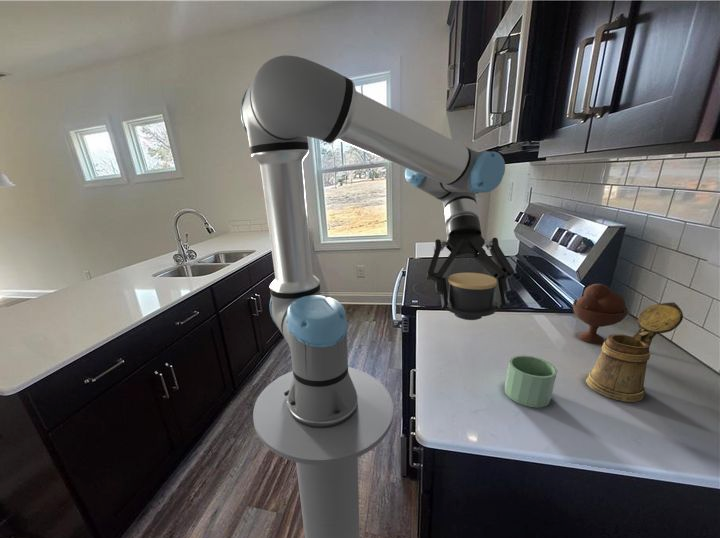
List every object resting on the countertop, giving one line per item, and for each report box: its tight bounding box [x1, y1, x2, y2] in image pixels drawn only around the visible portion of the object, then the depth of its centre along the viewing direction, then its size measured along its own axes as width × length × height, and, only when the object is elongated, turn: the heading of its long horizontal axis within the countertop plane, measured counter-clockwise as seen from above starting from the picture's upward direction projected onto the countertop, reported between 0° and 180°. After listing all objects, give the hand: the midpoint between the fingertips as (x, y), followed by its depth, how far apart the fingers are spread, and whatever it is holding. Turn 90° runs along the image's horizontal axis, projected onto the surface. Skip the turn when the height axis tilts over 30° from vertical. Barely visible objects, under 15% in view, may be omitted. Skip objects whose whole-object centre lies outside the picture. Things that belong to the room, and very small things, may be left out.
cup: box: [504, 354, 558, 408], centre depth 65 cm, size 8×8×7 cm
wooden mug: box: [585, 301, 684, 403], centre depth 63 cm, size 9×14×18 cm, turn 103°
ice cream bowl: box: [572, 283, 629, 345], centre depth 82 cm, size 11×11×15 cm
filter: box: [445, 272, 498, 321], centre depth 70 cm, size 11×11×9 cm
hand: (472, 306), depth 68 cm, fingers closed on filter, 11 cm apart
